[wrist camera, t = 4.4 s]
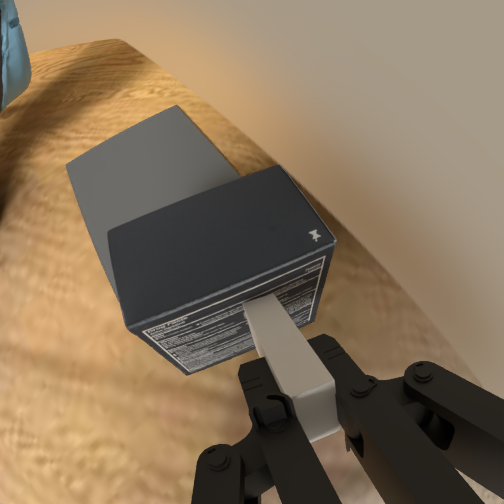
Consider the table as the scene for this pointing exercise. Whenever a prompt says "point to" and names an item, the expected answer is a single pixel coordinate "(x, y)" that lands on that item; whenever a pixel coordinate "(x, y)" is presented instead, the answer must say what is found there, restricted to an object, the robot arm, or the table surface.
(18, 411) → the table surface
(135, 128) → the mat
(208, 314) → the small box
